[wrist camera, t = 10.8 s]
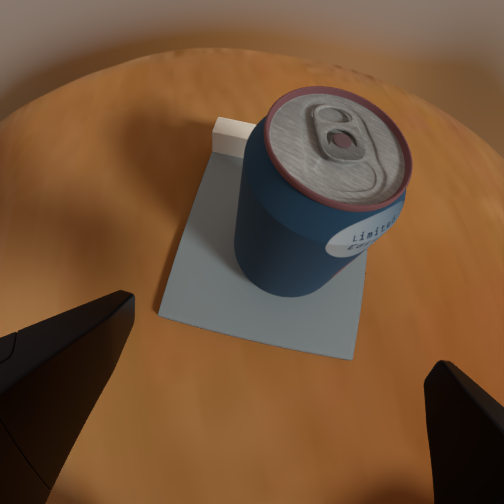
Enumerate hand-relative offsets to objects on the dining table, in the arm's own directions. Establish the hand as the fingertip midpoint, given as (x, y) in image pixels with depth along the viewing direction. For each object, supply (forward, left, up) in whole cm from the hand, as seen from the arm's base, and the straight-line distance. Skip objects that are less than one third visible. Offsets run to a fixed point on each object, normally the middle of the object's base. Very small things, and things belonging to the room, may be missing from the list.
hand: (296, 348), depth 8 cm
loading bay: (+5, +5, -12) cm, 15 cm away
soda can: (+6, +5, -12) cm, 14 cm away
